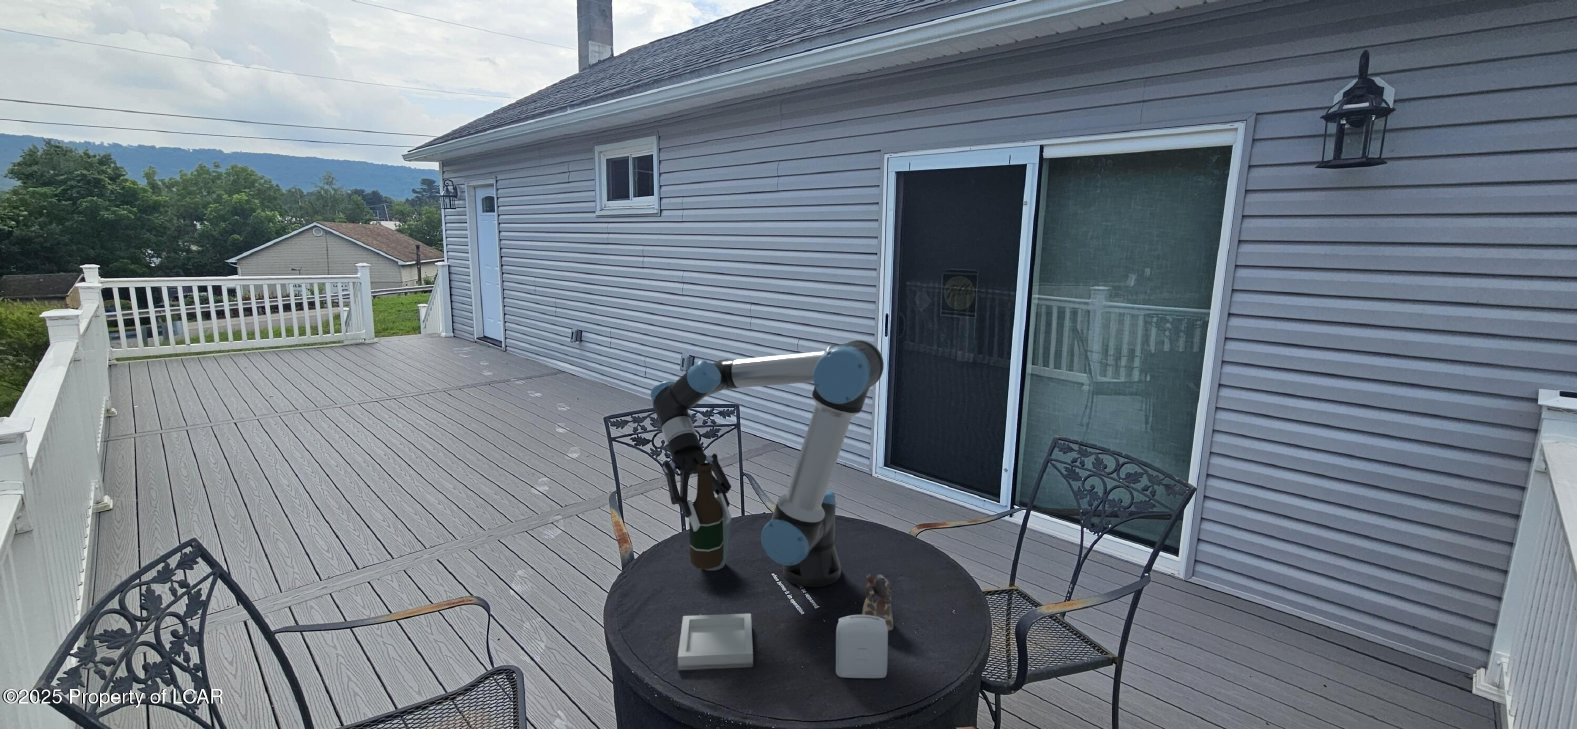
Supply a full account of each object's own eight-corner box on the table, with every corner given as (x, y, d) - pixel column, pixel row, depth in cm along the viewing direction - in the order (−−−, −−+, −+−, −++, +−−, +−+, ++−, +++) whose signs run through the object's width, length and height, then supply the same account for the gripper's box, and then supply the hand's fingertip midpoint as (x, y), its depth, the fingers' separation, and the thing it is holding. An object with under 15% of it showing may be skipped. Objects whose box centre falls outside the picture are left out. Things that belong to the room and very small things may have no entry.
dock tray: (750, 625, 150) (750, 613, 149) (752, 667, 135) (752, 653, 135) (683, 628, 149) (683, 616, 148) (678, 670, 134) (677, 656, 133)
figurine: (892, 635, 147) (894, 584, 145) (860, 631, 148) (861, 581, 146) (893, 618, 154) (895, 569, 152) (863, 614, 155) (864, 566, 153)
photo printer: (835, 679, 132) (837, 621, 129) (834, 666, 136) (836, 610, 134) (888, 681, 131) (890, 623, 129) (885, 667, 135) (887, 611, 133)
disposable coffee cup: (740, 563, 180) (740, 510, 177) (715, 579, 171) (714, 524, 168) (709, 553, 185) (708, 501, 183) (683, 568, 176) (682, 514, 174)
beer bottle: (709, 573, 152) (707, 471, 147) (683, 564, 156) (680, 466, 151) (730, 559, 158) (728, 462, 154) (704, 551, 162) (702, 456, 158)
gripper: (714, 441, 171) (746, 522, 160) (638, 453, 160) (667, 541, 149) (723, 425, 166) (756, 508, 155) (646, 437, 155) (676, 527, 144)
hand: (712, 524), depth 152 cm, fingers closed on beer bottle, 7 cm apart
